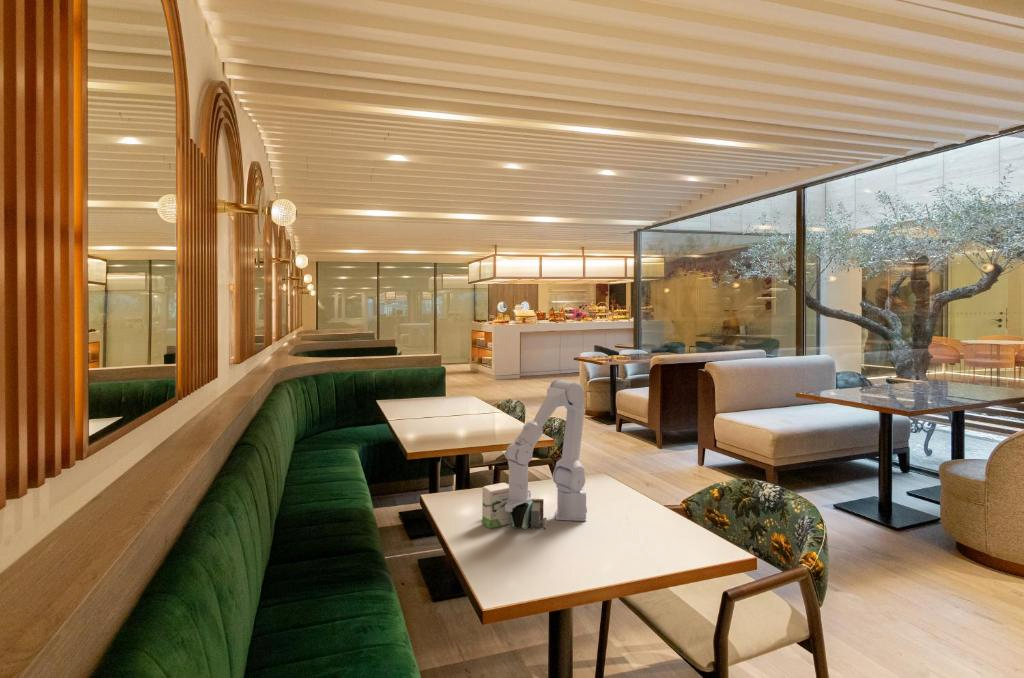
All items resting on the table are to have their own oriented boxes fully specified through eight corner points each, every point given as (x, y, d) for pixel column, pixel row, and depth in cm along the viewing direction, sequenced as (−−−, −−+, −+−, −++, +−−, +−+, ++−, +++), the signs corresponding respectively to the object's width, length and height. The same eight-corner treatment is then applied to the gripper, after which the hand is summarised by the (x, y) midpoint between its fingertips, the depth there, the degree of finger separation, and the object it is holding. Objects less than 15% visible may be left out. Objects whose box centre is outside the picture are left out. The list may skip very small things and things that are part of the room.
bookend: (546, 519, 185) (546, 502, 184) (545, 529, 177) (545, 511, 177) (532, 518, 185) (532, 501, 185) (531, 528, 177) (531, 510, 177)
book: (532, 519, 185) (532, 500, 184) (526, 528, 177) (526, 509, 176) (518, 518, 186) (518, 499, 185) (512, 527, 178) (512, 508, 178)
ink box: (489, 529, 177) (489, 491, 176) (481, 523, 181) (481, 486, 180) (513, 523, 182) (513, 486, 181) (504, 517, 186) (504, 481, 185)
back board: (543, 517, 186) (543, 499, 186) (543, 518, 185) (543, 500, 185) (490, 515, 188) (490, 497, 187) (490, 516, 187) (490, 498, 186)
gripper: (520, 492, 166) (520, 538, 167) (539, 478, 179) (539, 521, 180) (498, 488, 169) (498, 534, 170) (518, 475, 182) (518, 517, 183)
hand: (518, 527), depth 176 cm, fingers closed
